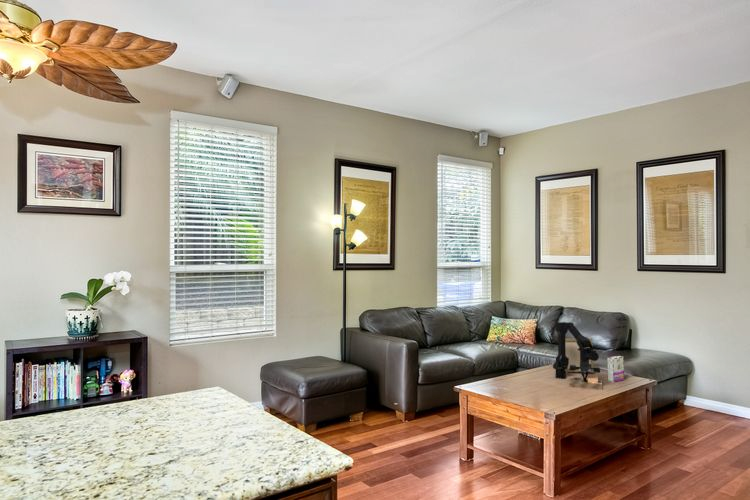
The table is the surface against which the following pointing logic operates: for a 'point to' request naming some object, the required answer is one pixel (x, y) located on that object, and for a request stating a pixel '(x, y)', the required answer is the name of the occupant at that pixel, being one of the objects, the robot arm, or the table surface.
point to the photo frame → (574, 354)
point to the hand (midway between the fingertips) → (584, 381)
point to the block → (592, 379)
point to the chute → (584, 383)
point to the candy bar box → (615, 368)
